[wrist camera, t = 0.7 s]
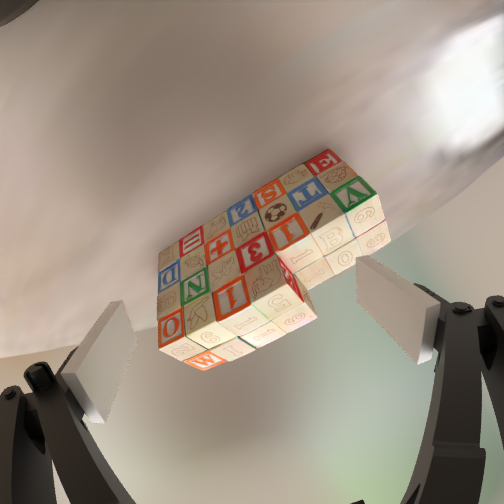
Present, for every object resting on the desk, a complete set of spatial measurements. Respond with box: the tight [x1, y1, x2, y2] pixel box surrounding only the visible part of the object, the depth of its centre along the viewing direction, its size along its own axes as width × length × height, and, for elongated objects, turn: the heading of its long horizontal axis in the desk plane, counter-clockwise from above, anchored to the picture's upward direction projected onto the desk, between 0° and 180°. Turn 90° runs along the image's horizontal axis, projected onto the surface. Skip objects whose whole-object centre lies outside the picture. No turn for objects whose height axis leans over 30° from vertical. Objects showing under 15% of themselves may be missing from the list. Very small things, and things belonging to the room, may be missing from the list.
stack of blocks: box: [157, 149, 391, 371], centre depth 26 cm, size 21×6×12 cm, turn 121°
